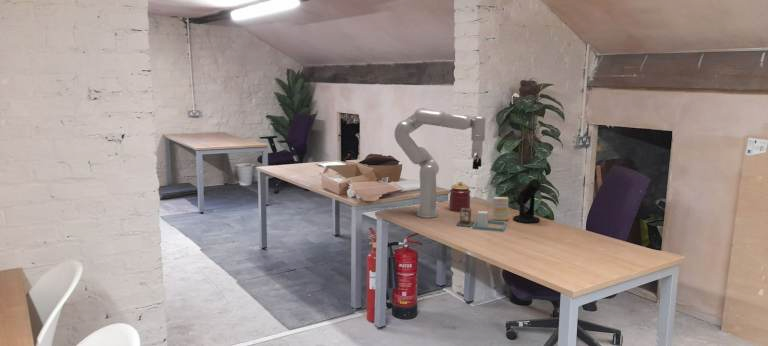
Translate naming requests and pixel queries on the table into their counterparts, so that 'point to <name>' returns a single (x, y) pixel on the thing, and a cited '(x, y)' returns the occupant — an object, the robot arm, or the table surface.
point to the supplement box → (500, 208)
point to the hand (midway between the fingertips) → (476, 167)
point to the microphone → (523, 198)
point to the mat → (465, 224)
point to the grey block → (482, 218)
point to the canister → (459, 197)
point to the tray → (490, 227)
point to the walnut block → (465, 216)
